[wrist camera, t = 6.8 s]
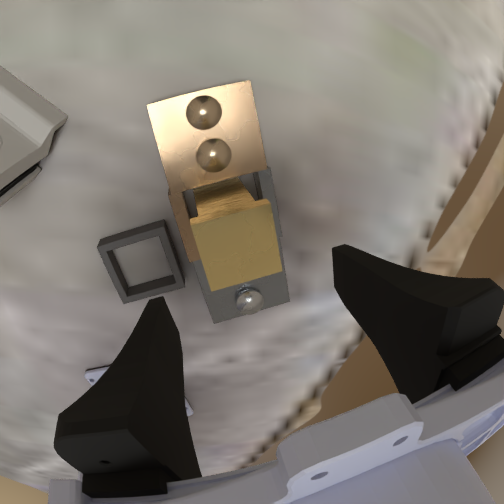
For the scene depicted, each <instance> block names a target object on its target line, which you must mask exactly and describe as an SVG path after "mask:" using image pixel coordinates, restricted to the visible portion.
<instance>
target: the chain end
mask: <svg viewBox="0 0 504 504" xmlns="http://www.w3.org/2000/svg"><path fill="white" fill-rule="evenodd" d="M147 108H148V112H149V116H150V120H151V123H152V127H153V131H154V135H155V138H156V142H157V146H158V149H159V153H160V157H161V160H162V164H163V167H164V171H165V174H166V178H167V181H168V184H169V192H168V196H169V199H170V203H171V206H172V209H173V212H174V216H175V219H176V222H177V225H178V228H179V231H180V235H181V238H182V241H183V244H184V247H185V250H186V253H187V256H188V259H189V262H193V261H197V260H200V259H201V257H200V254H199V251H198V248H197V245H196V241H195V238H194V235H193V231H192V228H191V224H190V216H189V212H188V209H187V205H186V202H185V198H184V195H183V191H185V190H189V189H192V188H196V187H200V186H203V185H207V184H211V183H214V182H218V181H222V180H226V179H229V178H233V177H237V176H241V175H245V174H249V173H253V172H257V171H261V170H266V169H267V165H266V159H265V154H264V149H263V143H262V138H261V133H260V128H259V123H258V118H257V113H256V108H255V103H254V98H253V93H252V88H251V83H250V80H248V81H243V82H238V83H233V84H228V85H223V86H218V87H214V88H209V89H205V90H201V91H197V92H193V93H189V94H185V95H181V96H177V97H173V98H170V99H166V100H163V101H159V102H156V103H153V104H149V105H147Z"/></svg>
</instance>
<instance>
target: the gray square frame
mask: <svg viewBox="0 0 504 504" xmlns="http://www.w3.org/2000/svg"><path fill="white" fill-rule="evenodd" d="M155 236H159V237H160V240H161V243H162V246H163V248H164V251H165V254H166V257H167V259H168V262H169V265H170V267H171V270H172V273H173V275H172V276H168V277H165V278H161V279H158V280H154V281H151V282H147V283H144V284H140V285H136V286H133V287H129V288H128V285H127V283H126V281H125V279H124V277H123V274H122V272H121V270H120V268H119V266H118V263H117V261H116V259H115V256H114V254H113V252H112V250H113V249H116V248H119V247H122V246H126V245H129V244H132V243H135V242H139V241H142V240H145V239H149V238H152V237H155ZM97 249H98V251H99V253H100V255H101V258H102V260H103V262H104V264H105V267H106V269H107V271H108V273H109V275H110V277H111V279H112V282H113V284H114V286H115V288H116V290H117V292H118V294H119V296H120V298H121V300H122V302H123V304H126V303H129V302H133V301H137V300H140V299H144V298H147V297H151V296H155V295H158V294H162V293H166V292H169V291H173V290H176V289H180V288H183V287H185V278H184V275H183V272H182V270H181V267H180V264H179V261H178V258H177V255H176V253H175V250H174V247H173V244H172V241H171V238H170V235H169V232H168V229H167V226H166V223H165V220H161V221H158V222H154V223H151V224H148V225H144V226H141V227H138V228H135V229H131V230H128V231H125V232H122V233H119V234H116V235H113V236H109V237H106V238H103V239H100V241H99V244H98V246H97Z"/></svg>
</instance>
